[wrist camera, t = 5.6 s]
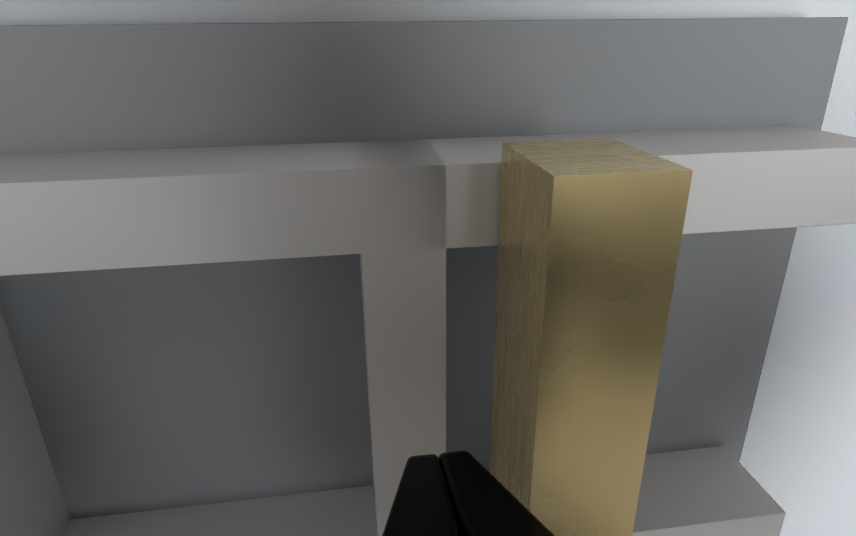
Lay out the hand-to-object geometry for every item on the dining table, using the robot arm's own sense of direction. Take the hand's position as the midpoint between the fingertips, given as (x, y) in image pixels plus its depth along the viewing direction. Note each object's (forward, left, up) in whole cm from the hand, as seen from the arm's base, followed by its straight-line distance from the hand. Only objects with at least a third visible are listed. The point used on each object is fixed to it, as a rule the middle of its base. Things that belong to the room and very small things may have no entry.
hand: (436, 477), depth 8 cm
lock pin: (-1, -2, -1) cm, 2 cm away
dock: (0, +1, -4) cm, 4 cm away
